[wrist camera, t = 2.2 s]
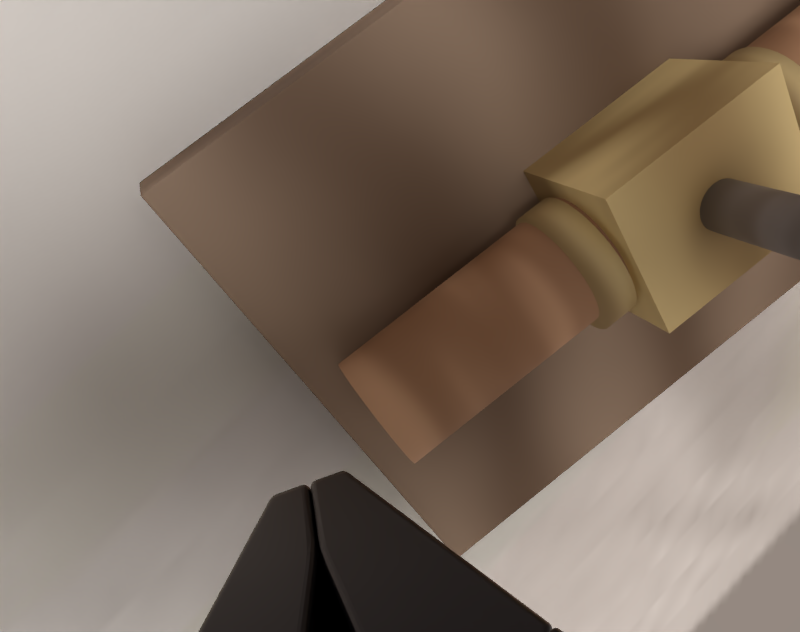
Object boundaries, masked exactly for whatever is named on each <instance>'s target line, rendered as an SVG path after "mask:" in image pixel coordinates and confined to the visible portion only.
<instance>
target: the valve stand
mask: <svg viewBox="0 0 800 632" xmlns="http://www.w3.org/2000/svg"><path fill="white" fill-rule="evenodd" d="M140 192H141V196H142V198H143V199H144V200H145V201H146V202H147V203H148V205H149V206H150V207H151V208H152V209H153V210H154V211H155V213H156V214H157V215H158V216H159V217H160V218H161V219H162V221H163V222H164V223H165V224H166V225H167V226H168V227H169V229H170V230H171V231H172V232H173V233H174V234H175V235H176V237H177V238H178V239H179V240H180V241H181V242H182V243H183V245H184V246H185V247H186V248H187V249H188V250H189V252H190V253H191V254H192V255H193V256H194V257H195V258H196V260H197V261H198V262H199V263H200V264H201V265H202V266H203V268H204V269H205V270H206V271H207V272H208V273H209V274H210V276H211V277H212V278H213V279H214V280H215V281H216V282H217V284H218V285H219V286H220V287H221V288H222V289H223V291H224V292H225V293H226V294H227V295H228V296H229V297H230V299H231V300H232V301H233V302H234V303H235V304H236V305H237V307H238V308H239V309H240V310H241V311H242V312H243V313H244V315H245V316H246V317H247V318H248V319H249V320H250V321H251V323H252V324H253V325H254V326H255V327H256V328H257V330H258V331H259V332H260V333H261V334H262V335H263V336H264V338H265V339H266V340H267V341H268V342H269V343H270V344H271V346H272V347H273V348H274V349H275V350H276V351H277V352H278V354H279V355H280V356H281V357H282V358H283V359H284V360H285V362H286V363H287V364H288V365H289V366H290V367H291V368H292V370H293V371H294V372H295V373H296V374H297V375H298V377H299V378H300V379H301V380H302V381H303V382H304V383H305V385H306V386H307V387H308V388H309V389H310V390H311V391H312V393H313V394H314V395H315V396H316V397H317V398H318V399H319V401H320V402H321V403H322V404H323V405H324V406H325V407H326V409H327V410H328V411H329V412H330V413H331V414H332V416H333V417H334V418H335V419H336V420H337V421H338V422H339V424H340V425H341V426H342V427H343V428H344V429H345V430H346V432H347V433H348V434H349V435H350V436H351V437H352V438H353V440H354V441H355V442H356V443H357V444H358V445H359V446H360V448H361V449H362V450H363V451H364V452H365V453H366V454H367V456H368V457H369V458H370V459H371V460H372V461H373V463H374V464H375V465H376V466H377V467H378V468H379V469H380V471H381V472H382V473H383V474H384V475H385V476H386V477H387V479H388V480H389V481H390V482H391V483H392V484H393V485H394V487H395V488H396V489H397V490H398V491H399V492H400V493H401V495H402V496H403V497H404V498H405V499H406V500H407V502H408V503H409V504H410V505H411V506H412V507H413V508H414V510H415V511H416V512H417V513H418V514H419V515H420V516H421V518H422V519H423V520H424V521H425V522H426V523H427V524H428V526H429V527H430V528H431V529H432V530H433V531H434V532H435V534H436V535H437V536H438V537H439V538H440V539H441V540H442V542H443V543H444V544H445V545H446V546H447V547H448V548H450V549H451V550H452V551H454V552H455V553H456V554H458V555H459V556H461V555H462V554H463V553H464V552H466V551H467V550H468V549H469V548H471V547H472V546H473V545H474V544H475V543H477V542H478V541H479V540H480V539H482V538H483V537H484V536H485V535H487V534H488V533H489V532H490V531H492V530H493V529H494V528H495V527H496V526H498V525H499V524H500V523H501V522H503V521H504V520H505V519H506V518H508V517H509V516H510V515H511V514H513V513H514V512H515V511H516V510H517V509H519V508H520V507H521V506H522V505H524V504H525V503H526V502H527V501H529V500H530V499H531V498H532V497H534V496H535V495H536V494H537V493H538V492H540V491H541V490H542V489H543V488H545V487H546V486H547V485H548V484H550V483H551V482H552V481H553V480H555V479H556V478H557V477H558V476H560V475H561V474H562V473H563V472H564V471H566V470H567V469H568V468H569V467H571V466H572V465H573V464H574V463H576V462H577V461H578V460H579V459H581V458H582V457H583V456H584V455H585V454H587V453H588V452H589V451H590V450H592V449H593V448H594V447H595V446H597V445H598V444H599V443H600V442H602V441H603V440H604V439H605V438H606V437H608V436H609V435H610V434H611V433H613V432H614V431H615V430H616V429H618V428H619V427H620V426H621V425H623V424H624V423H625V422H626V421H627V420H629V419H630V418H631V417H632V416H634V415H635V414H636V413H637V412H639V411H640V410H641V409H642V408H644V407H645V406H646V405H647V404H648V403H650V402H651V401H652V400H653V399H655V398H656V397H657V396H658V395H660V394H661V393H662V392H663V391H665V390H666V389H667V388H668V387H670V386H671V385H672V384H673V383H674V382H676V381H677V380H678V379H679V378H681V377H682V376H683V375H684V374H686V373H687V372H688V371H689V370H691V369H692V368H693V367H694V366H695V365H697V364H698V363H699V362H700V361H702V360H703V359H704V358H705V357H707V356H708V355H709V354H710V353H712V352H713V351H714V350H715V349H716V348H718V347H719V346H720V345H721V344H723V343H724V342H725V341H726V340H728V339H729V338H730V337H731V336H733V335H734V334H735V333H736V332H737V331H739V330H740V329H741V328H742V327H744V326H745V325H746V324H747V323H749V322H750V321H751V320H752V319H754V318H755V317H756V316H757V315H759V314H760V313H761V312H762V311H763V310H765V309H766V308H767V307H768V306H770V305H771V304H772V303H773V302H775V301H776V300H777V299H778V298H780V297H781V296H782V295H783V294H784V293H786V292H787V291H788V290H789V289H791V288H792V287H793V286H794V285H796V284H797V283H798V282H799V281H800V0H386V1H384V2H383V3H382V4H380V5H379V6H378V7H376V8H375V9H373V10H372V11H371V12H369V13H368V14H367V15H365V16H364V17H363V18H361V19H360V20H359V21H357V22H356V23H355V24H353V25H352V26H351V27H349V28H348V29H346V30H345V31H344V32H342V33H341V34H340V35H338V36H337V37H336V38H334V39H333V40H332V41H330V42H329V43H328V44H326V45H325V46H324V47H322V48H321V49H320V50H318V51H317V52H315V53H314V54H313V55H311V56H310V57H309V58H307V59H306V60H305V61H303V62H302V63H301V64H299V65H298V66H297V67H295V68H294V69H293V70H291V71H290V72H288V73H287V74H286V75H284V76H283V77H282V78H280V79H279V80H278V81H276V82H275V83H274V84H272V85H271V86H270V87H268V88H267V89H266V90H264V91H263V92H262V93H260V94H259V95H257V96H256V97H255V98H253V99H252V100H251V101H249V102H248V103H247V104H245V105H244V106H243V107H241V108H240V109H239V110H237V111H236V112H235V113H233V114H232V115H230V116H229V117H228V118H226V119H225V120H224V121H222V122H221V123H220V124H218V125H217V126H216V127H214V128H213V129H212V130H210V131H209V132H208V133H206V134H205V135H204V136H202V137H201V138H199V139H198V140H197V141H195V142H194V143H193V144H191V145H190V146H189V147H187V148H186V149H185V150H183V151H182V152H181V153H179V154H178V155H177V156H175V157H174V158H172V159H171V160H170V161H168V162H167V163H166V164H164V165H163V166H162V167H160V168H159V169H158V170H156V171H155V172H154V173H152V174H151V175H150V176H148V177H147V178H146V179H144V180H143V181H141V182H140Z"/></svg>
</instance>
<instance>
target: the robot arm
mask: <svg viewBox="0 0 800 632" xmlns="http://www.w3.org/2000/svg"><path fill="white" fill-rule="evenodd" d="M199 632H562V631H561V630H560V629H558V628H554V629H552V627H551V625H550V623H548V622H547V621H546V620H544V619H543V618H542V617H540V616H539V615H538V614H536V613H535V612H534V611H532V610H531V609H530V608H528V607H527V606H526V605H524V604H523V603H522V602H520V601H519V600H518V599H516V598H515V597H514V596H512V595H511V594H510V593H508V592H507V591H506V590H504V589H503V588H502V587H500V586H499V585H498V584H496V583H495V582H494V581H492V580H491V579H490V578H488V577H487V576H486V575H484V574H483V573H482V572H480V571H479V570H478V569H476V568H475V567H474V566H472V565H471V564H470V563H468V562H467V561H466V560H464V559H463V558H462V557H460V556H459V555H458V554H456V553H455V552H454V551H452V550H451V549H450V548H448V547H447V546H446V545H444V544H443V543H442V542H440V541H439V540H438V539H436V538H435V537H434V536H432V535H431V534H430V533H428V532H427V531H426V530H424V529H423V528H422V527H420V526H419V525H418V524H416V523H415V522H414V521H412V520H411V519H410V518H408V517H407V516H406V515H404V514H403V513H402V512H400V511H399V510H398V509H396V508H395V507H394V506H392V505H391V504H389V503H388V502H387V501H385V500H384V499H383V498H381V497H380V496H379V495H377V494H376V493H375V492H373V491H372V490H371V489H369V488H368V487H367V486H365V485H364V484H363V483H361V482H360V481H359V480H357V479H356V478H355V477H353V476H352V475H351V474H349V473H348V472H345V471H341V472H338V473H335V474H332V475H330V476H327V477H324V478H321V479H318V480H316V481H314V482H313V483H312V485H311V489H310V488H309V487H308V486H306V485H301V486H298V487H296V488H293V489H290V490H287V491H284V492H281V493H279V494H276V495H274V496H273V497H272V498H271V499H270V501H269V503H268V504H267V506H266V508H265V510H264V512H263V514H262V516H261V517H260V519H259V521H258V523H257V525H256V527H255V528H254V530H253V532H252V534H251V536H250V538H249V540H248V541H247V543H246V545H245V547H244V549H243V551H242V552H241V554H240V556H239V558H238V560H237V562H236V564H235V565H234V567H233V569H232V571H231V573H230V575H229V577H228V578H227V580H226V582H225V584H224V586H223V588H222V589H221V591H220V593H219V595H218V597H217V599H216V601H215V602H214V604H213V606H212V608H211V610H210V612H209V614H208V615H207V617H206V619H205V621H204V623H203V625H202V626H201V628H200V630H199Z"/></svg>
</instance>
